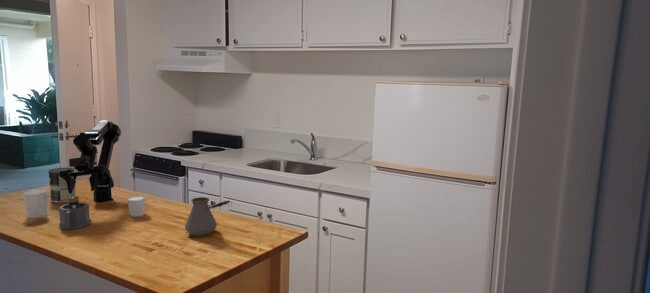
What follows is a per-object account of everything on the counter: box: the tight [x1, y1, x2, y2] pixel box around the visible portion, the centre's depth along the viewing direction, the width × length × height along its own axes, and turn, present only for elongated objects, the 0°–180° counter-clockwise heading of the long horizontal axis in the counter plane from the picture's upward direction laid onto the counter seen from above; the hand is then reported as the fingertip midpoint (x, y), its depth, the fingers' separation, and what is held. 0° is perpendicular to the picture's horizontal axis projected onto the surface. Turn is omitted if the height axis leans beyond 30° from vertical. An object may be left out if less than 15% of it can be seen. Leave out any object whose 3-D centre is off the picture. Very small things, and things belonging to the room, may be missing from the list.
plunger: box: [68, 195, 80, 209], centre depth 169 cm, size 7×7×8 cm
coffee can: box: [47, 167, 77, 204], centre depth 203 cm, size 10×10×14 cm
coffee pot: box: [184, 196, 233, 237], centre depth 160 cm, size 21×12×15 cm, turn 57°
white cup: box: [23, 189, 48, 219], centre depth 180 cm, size 8×8×10 cm
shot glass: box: [127, 195, 146, 218], centre depth 184 cm, size 7×7×7 cm
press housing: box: [58, 202, 92, 231], centre depth 169 cm, size 13×11×8 cm
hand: (80, 192), depth 178 cm, fingers open, 9 cm apart
